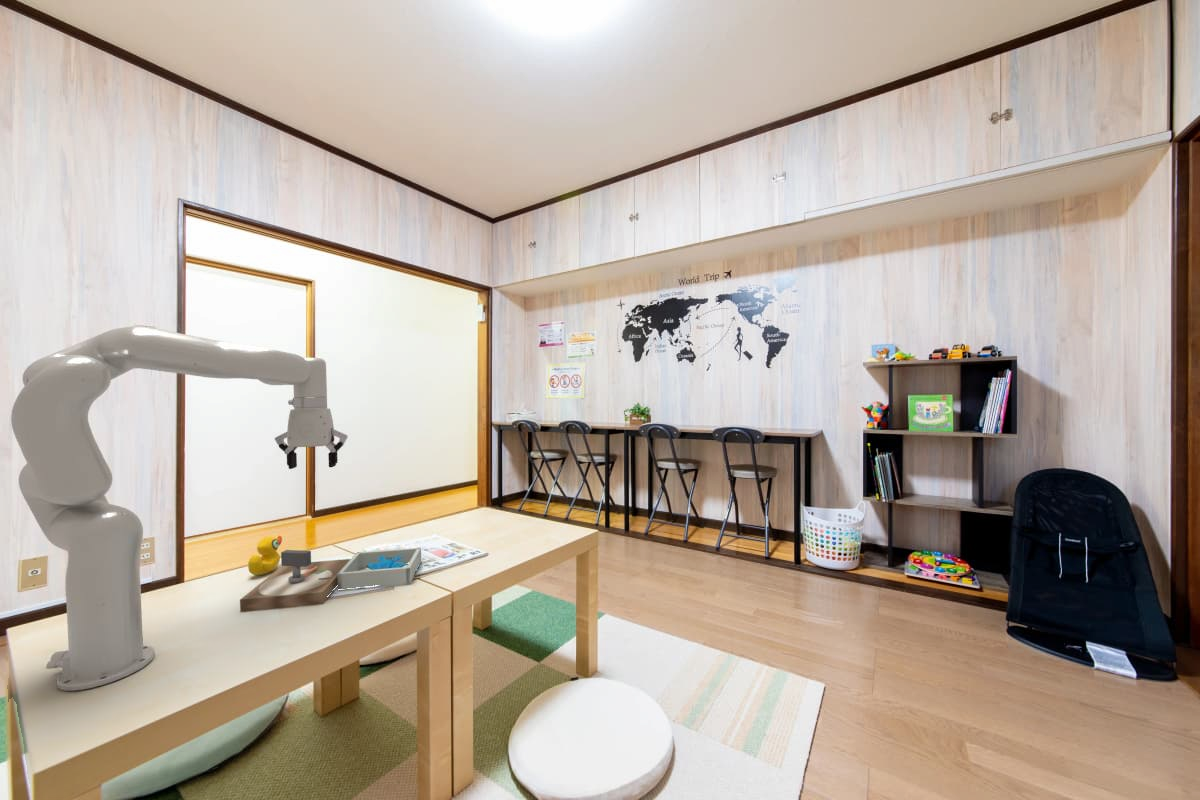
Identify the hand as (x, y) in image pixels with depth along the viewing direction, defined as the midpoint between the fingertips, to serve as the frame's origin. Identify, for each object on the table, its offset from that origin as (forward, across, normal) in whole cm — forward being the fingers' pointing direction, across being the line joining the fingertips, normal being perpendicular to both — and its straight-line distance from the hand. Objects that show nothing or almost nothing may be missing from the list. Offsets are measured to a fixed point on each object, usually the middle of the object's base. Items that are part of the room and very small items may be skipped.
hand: (312, 467), depth 121 cm
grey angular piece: (+29, -2, -2) cm, 29 cm away
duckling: (+32, -18, +13) cm, 39 cm away
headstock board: (+32, -3, -1) cm, 32 cm away
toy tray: (+32, +16, +3) cm, 36 cm away
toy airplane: (+33, +16, +3) cm, 37 cm away
